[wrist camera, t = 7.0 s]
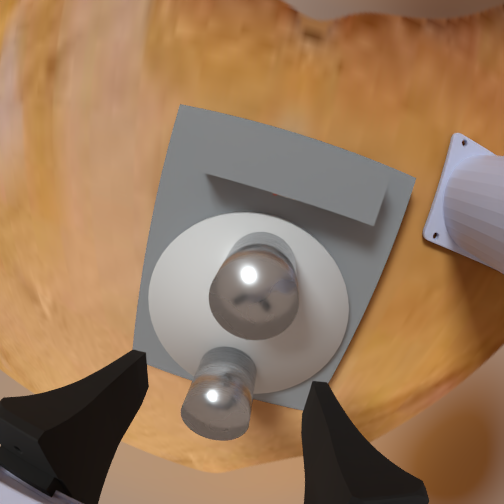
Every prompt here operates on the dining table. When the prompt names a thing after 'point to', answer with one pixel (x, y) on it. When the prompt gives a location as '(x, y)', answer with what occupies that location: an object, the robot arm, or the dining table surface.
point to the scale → (272, 221)
